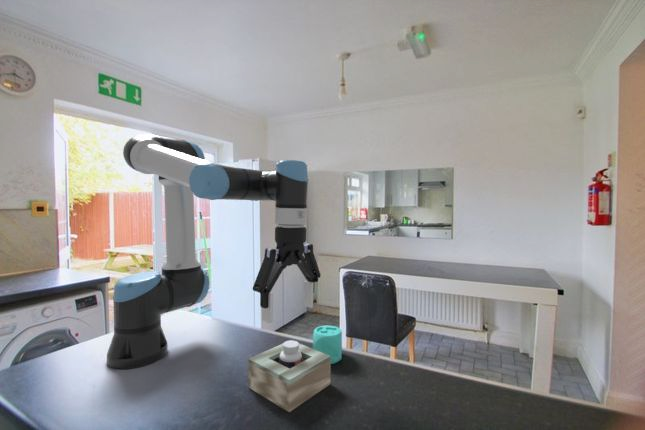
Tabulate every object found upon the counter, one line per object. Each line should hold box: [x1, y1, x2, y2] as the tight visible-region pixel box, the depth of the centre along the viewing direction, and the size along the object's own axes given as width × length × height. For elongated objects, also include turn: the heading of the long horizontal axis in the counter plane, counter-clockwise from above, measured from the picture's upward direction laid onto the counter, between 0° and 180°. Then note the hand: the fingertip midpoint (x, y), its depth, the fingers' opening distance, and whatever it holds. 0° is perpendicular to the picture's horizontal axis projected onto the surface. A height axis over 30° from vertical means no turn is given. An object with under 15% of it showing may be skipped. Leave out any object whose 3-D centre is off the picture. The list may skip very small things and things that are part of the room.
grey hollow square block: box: [248, 339, 332, 413], centre depth 76 cm, size 14×14×7 cm
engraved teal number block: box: [312, 324, 343, 365], centre depth 90 cm, size 8×8×8 cm
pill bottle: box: [280, 340, 302, 369], centre depth 76 cm, size 5×5×10 cm
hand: (289, 313), depth 76 cm, fingers open, 13 cm apart
